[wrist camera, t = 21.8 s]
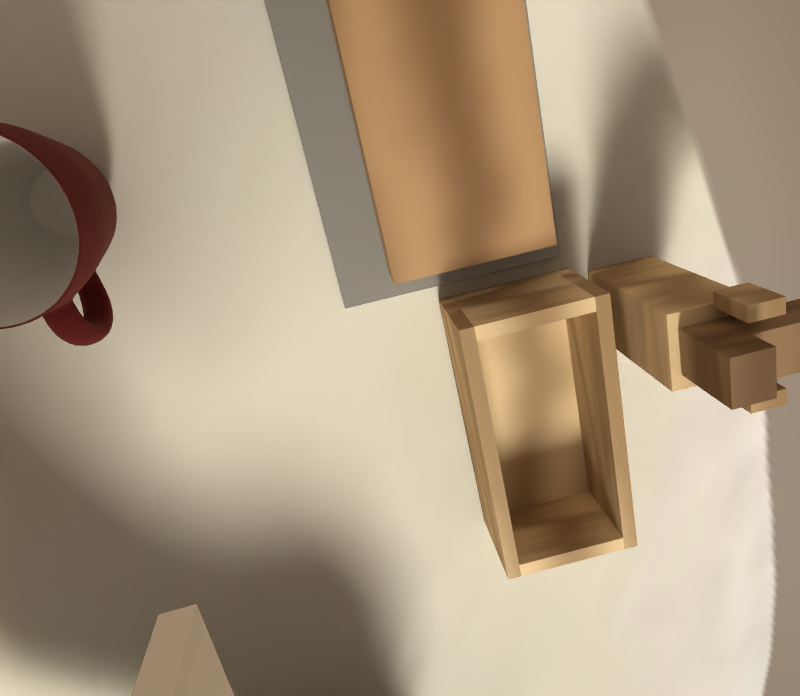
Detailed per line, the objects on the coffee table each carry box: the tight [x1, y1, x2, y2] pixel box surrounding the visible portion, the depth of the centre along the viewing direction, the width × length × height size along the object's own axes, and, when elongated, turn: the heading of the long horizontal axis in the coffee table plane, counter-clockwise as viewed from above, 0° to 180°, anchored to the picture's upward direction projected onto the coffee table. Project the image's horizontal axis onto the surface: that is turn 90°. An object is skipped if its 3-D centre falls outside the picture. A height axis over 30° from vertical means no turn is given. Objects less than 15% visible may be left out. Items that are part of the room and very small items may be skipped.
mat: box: [265, 0, 560, 308], centre depth 34 cm, size 13×20×1 cm, turn 12°
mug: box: [0, 123, 117, 346], centre depth 30 cm, size 11×8×10 cm
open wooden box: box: [439, 256, 787, 579], centre depth 35 cm, size 13×16×12 cm
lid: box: [326, 0, 557, 285], centre depth 33 cm, size 9×17×3 cm, turn 12°
